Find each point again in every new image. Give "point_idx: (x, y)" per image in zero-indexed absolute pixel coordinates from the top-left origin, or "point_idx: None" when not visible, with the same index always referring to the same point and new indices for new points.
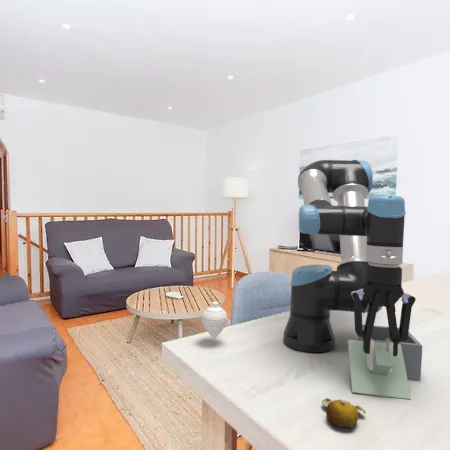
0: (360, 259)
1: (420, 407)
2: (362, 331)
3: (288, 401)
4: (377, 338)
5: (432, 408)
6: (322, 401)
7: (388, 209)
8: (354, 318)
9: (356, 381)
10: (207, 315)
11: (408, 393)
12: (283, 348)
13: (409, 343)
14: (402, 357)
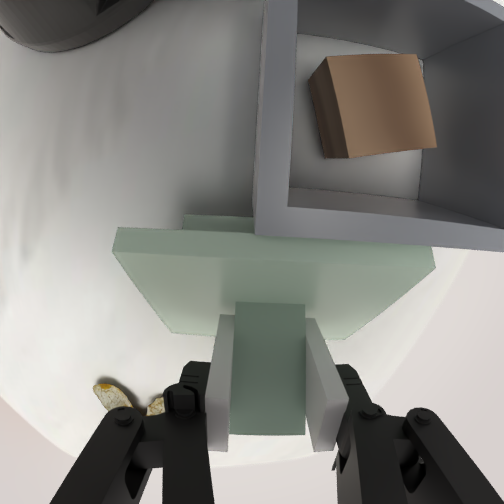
0: None
1: (352, 359)
2: (147, 479)
3: (35, 368)
4: (367, 1)
5: (380, 356)
6: (94, 389)
7: None
8: (67, 476)
9: (181, 325)
10: None
11: (345, 335)
12: (3, 53)
13: (482, 234)
14: (398, 296)
